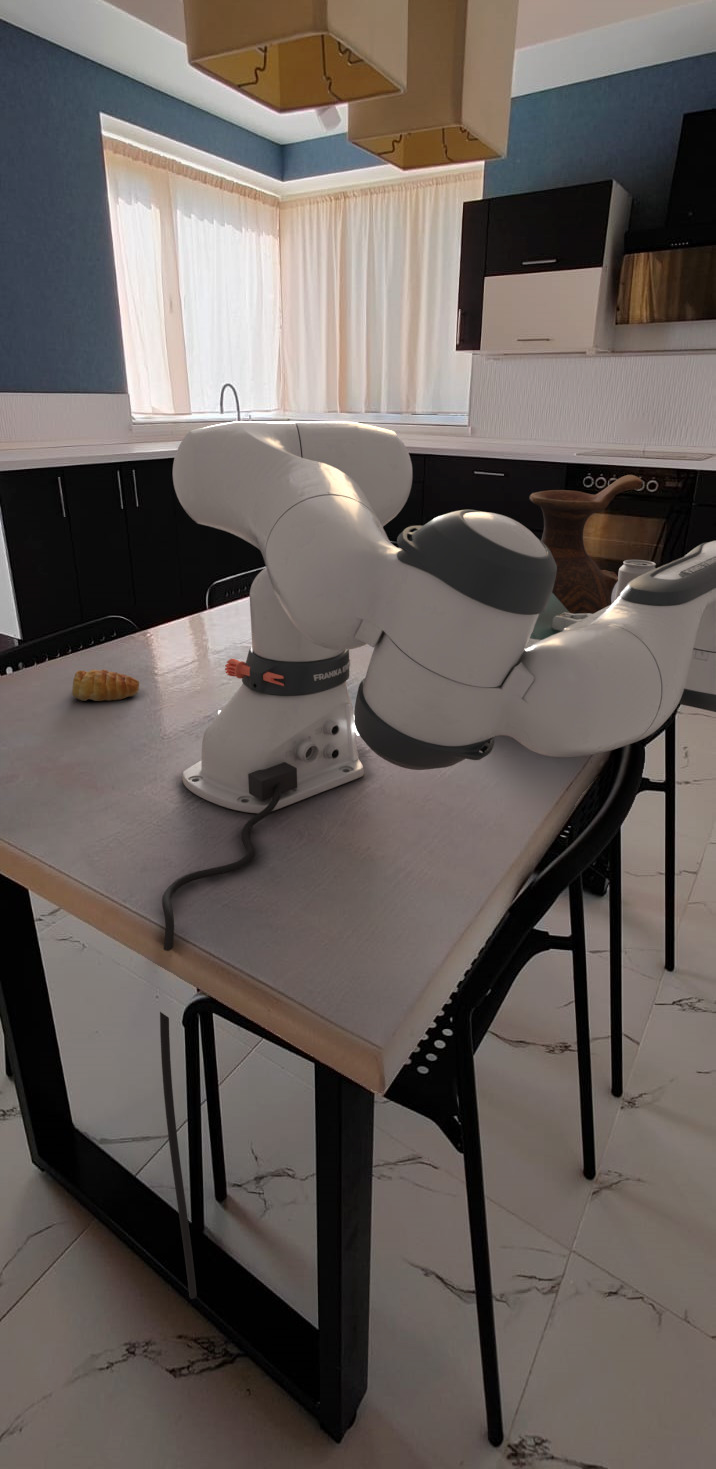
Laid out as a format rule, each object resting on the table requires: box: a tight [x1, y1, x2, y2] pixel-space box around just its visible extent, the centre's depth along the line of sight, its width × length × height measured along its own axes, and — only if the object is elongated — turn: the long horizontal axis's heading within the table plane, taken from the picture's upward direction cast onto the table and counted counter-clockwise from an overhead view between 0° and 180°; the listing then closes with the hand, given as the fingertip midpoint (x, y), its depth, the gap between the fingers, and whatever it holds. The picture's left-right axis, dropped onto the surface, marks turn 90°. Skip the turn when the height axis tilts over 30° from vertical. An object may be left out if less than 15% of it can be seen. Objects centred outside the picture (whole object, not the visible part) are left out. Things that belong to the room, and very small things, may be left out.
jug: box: [528, 474, 643, 614], centre depth 137 cm, size 22×22×30 cm
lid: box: [530, 593, 570, 640], centre depth 105 cm, size 16×13×1 cm
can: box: [614, 559, 657, 601], centre depth 157 cm, size 8×8×12 cm
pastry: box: [71, 669, 140, 702], centre depth 115 cm, size 9×7×4 cm
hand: (556, 620), depth 104 cm, fingers closed
